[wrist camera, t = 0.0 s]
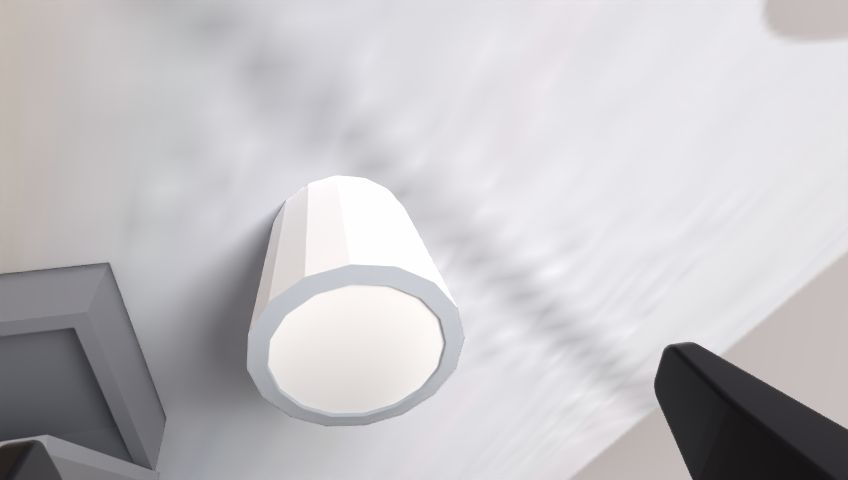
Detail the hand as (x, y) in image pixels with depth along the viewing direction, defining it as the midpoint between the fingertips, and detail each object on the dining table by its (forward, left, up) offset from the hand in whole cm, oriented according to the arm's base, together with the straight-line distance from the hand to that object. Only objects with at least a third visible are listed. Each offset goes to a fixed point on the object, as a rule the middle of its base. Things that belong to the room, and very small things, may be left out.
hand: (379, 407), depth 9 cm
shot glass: (-6, 0, -15) cm, 16 cm away
